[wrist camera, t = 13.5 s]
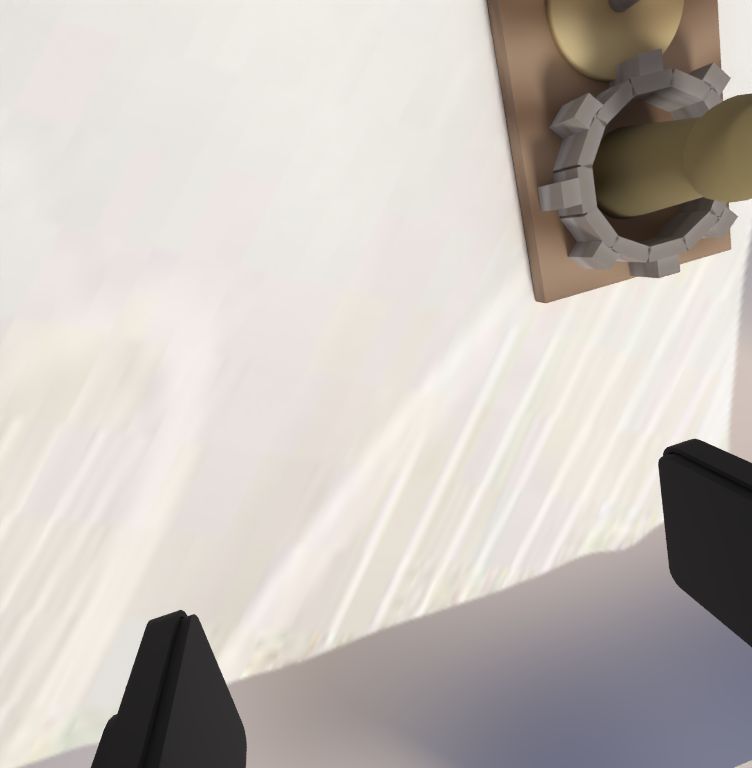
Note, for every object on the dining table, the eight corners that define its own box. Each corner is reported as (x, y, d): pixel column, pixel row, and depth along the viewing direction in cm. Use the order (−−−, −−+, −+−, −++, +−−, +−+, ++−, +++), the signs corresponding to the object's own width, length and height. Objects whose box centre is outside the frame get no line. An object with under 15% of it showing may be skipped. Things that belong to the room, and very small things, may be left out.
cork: (573, 201, 37) (694, 183, 26) (607, 111, 35) (748, 53, 25) (644, 231, 38) (786, 225, 28) (679, 145, 37) (840, 104, 27)
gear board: (476, -63, 33) (507, -109, 29) (692, -107, 35) (752, -157, 30) (535, 301, 39) (568, 307, 35) (715, 249, 41) (766, 249, 37)
